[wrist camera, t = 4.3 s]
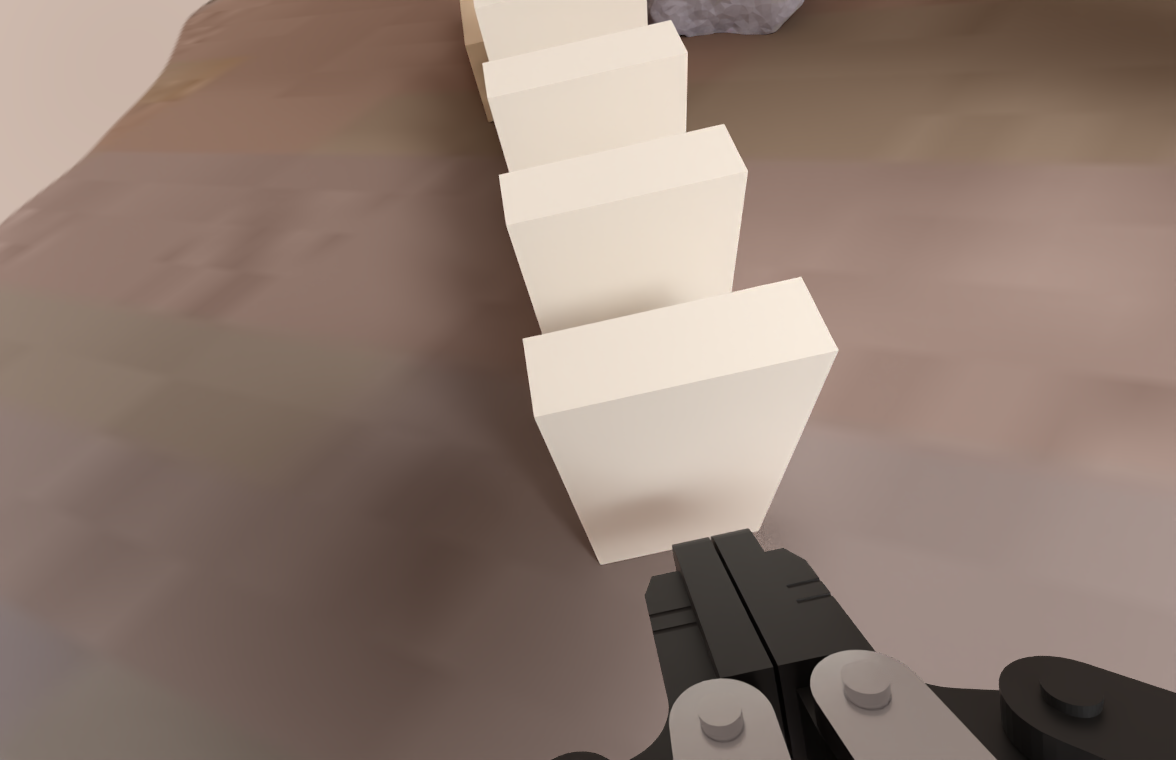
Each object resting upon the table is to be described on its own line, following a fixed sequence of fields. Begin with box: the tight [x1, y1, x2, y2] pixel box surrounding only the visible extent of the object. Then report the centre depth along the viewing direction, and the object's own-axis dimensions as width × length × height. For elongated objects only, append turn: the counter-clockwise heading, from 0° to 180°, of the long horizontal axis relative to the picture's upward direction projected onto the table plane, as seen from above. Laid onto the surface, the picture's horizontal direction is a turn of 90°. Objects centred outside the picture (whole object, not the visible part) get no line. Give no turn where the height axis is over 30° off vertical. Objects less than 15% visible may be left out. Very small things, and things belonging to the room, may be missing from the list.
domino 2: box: [482, 20, 688, 172], centre depth 19 cm, size 2×5×10 cm, turn 100°
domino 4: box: [523, 277, 838, 565], centre depth 14 cm, size 2×5×10 cm, turn 100°
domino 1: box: [473, 0, 648, 62], centre depth 21 cm, size 2×5×10 cm, turn 100°
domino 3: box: [499, 124, 748, 334], centre depth 16 cm, size 2×5×10 cm, turn 100°
